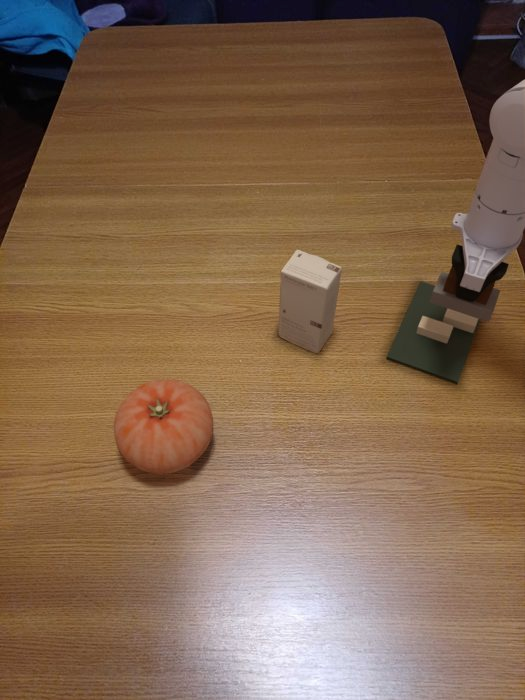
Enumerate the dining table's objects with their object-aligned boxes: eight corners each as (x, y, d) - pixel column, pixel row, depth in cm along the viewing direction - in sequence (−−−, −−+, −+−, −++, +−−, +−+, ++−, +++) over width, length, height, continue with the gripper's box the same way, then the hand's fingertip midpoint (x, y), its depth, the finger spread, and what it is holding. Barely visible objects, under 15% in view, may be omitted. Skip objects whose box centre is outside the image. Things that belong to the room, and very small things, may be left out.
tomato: (102, 442, 70) (84, 406, 64) (175, 386, 75) (165, 347, 68) (162, 506, 66) (149, 473, 59) (236, 442, 70) (231, 405, 64)
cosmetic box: (277, 337, 79) (276, 271, 69) (293, 314, 81) (295, 246, 72) (320, 356, 77) (325, 290, 67) (335, 331, 79) (343, 264, 70)
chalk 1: (451, 332, 78) (453, 325, 77) (446, 344, 77) (449, 337, 76) (420, 322, 79) (422, 315, 78) (416, 333, 78) (417, 326, 77)
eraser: (495, 301, 73) (507, 275, 69) (488, 322, 71) (500, 296, 67) (437, 282, 74) (446, 256, 71) (429, 302, 73) (437, 276, 69)
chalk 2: (476, 322, 79) (479, 315, 78) (472, 333, 78) (475, 326, 77) (446, 312, 80) (448, 305, 79) (441, 323, 79) (444, 316, 78)
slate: (485, 304, 81) (486, 301, 81) (457, 384, 74) (458, 382, 74) (419, 283, 84) (420, 280, 83) (385, 359, 76) (386, 356, 76)
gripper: (482, 142, 64) (451, 237, 75) (444, 230, 57) (416, 321, 68) (551, 160, 63) (509, 255, 74) (522, 253, 55) (479, 343, 66)
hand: (468, 288), depth 71 cm, fingers closed on eraser, 2 cm apart
